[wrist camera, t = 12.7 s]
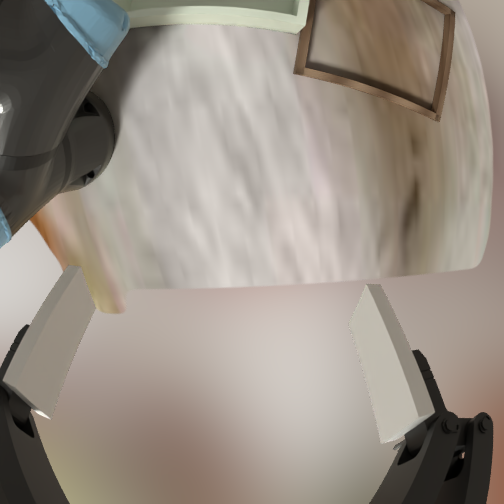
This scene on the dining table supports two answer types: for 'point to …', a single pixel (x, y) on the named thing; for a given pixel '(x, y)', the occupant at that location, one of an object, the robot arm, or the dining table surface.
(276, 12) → the bin
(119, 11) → the robot arm
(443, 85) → the frame
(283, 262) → the dining table surface
